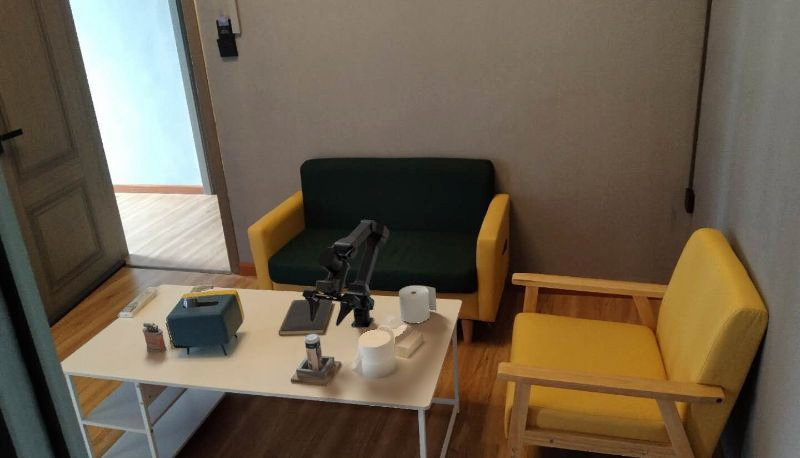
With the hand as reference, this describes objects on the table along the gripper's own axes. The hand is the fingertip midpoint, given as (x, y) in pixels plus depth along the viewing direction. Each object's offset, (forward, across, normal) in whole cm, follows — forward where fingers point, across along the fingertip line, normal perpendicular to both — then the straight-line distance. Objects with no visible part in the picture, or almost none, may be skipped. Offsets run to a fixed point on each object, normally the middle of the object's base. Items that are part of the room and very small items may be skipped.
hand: (324, 323), depth 197 cm
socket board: (+15, 0, +4) cm, 15 cm away
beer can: (+14, 0, +3) cm, 15 cm away
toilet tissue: (-15, +17, +34) cm, 41 cm away
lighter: (+18, -62, +1) cm, 65 cm away
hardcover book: (-6, -22, +26) cm, 34 cm away
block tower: (+4, -63, +16) cm, 65 cm away
